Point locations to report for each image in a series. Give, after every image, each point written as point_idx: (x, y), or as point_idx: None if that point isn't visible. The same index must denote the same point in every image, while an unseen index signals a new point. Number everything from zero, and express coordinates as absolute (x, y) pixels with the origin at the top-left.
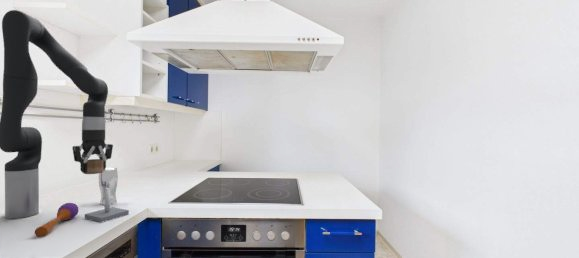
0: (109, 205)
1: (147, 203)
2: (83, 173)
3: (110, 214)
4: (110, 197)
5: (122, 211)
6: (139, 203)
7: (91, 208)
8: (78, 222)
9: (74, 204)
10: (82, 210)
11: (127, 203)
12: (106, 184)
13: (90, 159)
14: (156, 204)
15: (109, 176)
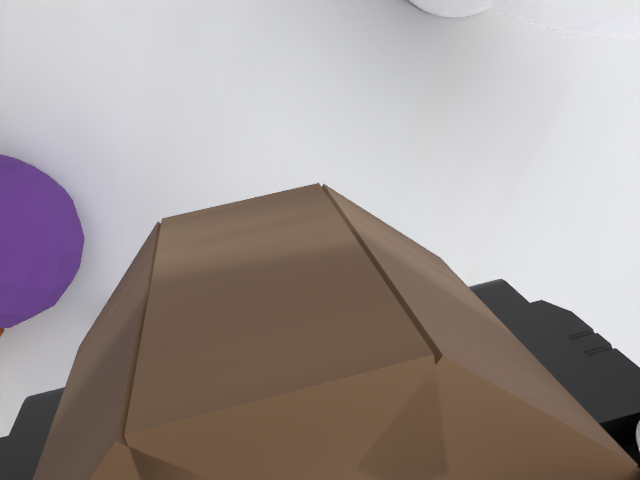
0: None
1: (627, 261)
2: (78, 355)
3: None
4: (477, 5)
5: None
6: (597, 207)
7: (263, 9)
8: (60, 384)
9: (24, 296)
10: (176, 14)
11: (548, 116)
12: (512, 10)
13: (342, 389)
14: (637, 344)
15: (627, 33)
